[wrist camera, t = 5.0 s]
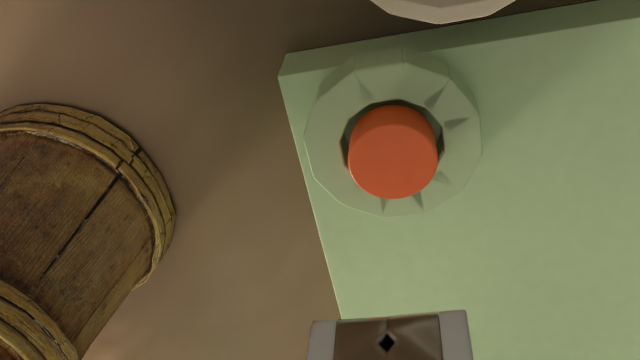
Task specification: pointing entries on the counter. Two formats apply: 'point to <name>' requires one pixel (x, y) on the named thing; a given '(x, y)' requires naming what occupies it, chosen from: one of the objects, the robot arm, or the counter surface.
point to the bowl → (441, 9)
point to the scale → (489, 178)
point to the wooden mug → (72, 228)
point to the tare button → (392, 152)
